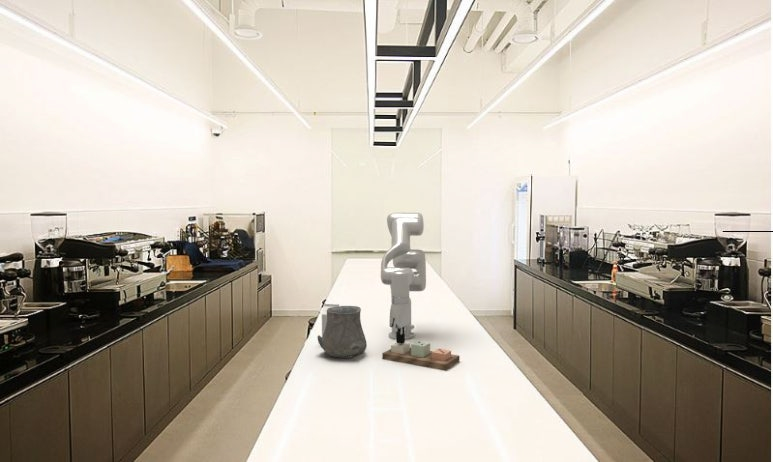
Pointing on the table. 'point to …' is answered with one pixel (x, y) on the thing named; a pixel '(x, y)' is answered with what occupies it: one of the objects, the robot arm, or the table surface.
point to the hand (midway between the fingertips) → (400, 342)
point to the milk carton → (324, 315)
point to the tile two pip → (420, 349)
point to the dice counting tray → (421, 360)
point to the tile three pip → (441, 355)
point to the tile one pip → (400, 348)
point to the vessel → (343, 332)
